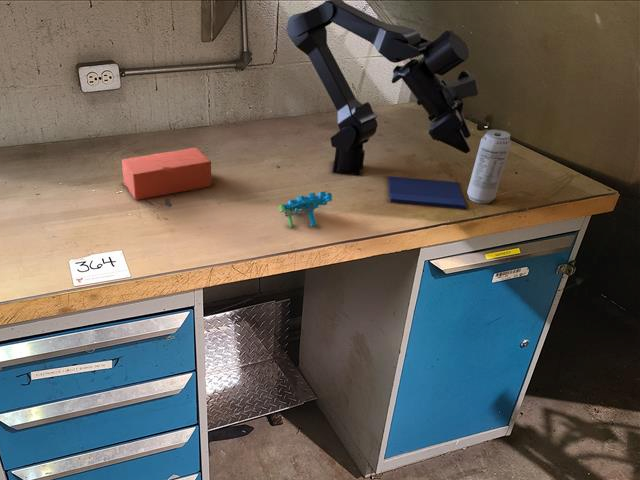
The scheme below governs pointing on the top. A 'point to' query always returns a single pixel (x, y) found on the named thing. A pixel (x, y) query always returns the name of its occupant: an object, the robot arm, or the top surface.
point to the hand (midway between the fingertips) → (468, 144)
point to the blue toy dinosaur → (305, 206)
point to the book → (426, 192)
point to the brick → (166, 173)
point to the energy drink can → (489, 166)
